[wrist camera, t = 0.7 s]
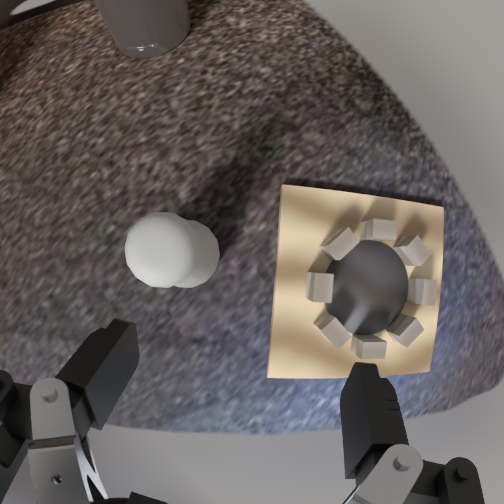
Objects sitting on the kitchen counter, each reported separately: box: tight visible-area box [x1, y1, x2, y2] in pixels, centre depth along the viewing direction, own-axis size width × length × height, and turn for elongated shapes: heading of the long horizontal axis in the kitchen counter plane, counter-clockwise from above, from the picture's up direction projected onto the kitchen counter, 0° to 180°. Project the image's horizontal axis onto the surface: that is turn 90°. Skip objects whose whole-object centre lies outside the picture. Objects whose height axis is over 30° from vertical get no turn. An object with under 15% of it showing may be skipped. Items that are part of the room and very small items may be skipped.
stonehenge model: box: [267, 184, 444, 378], centre depth 28 cm, size 18×18×4 cm
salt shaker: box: [125, 212, 220, 288], centre depth 23 cm, size 6×6×13 cm
